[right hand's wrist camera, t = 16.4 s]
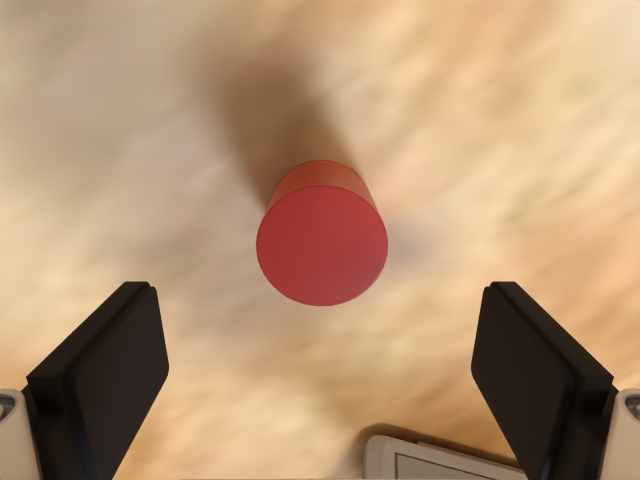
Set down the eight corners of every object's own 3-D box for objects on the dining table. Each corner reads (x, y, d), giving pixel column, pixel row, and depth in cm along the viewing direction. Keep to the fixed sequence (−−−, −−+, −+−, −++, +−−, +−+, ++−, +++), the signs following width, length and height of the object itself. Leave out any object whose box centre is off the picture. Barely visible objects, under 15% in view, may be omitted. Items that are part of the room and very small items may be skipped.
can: (358, 264, 20) (369, 316, 16) (263, 246, 20) (247, 294, 15) (384, 171, 18) (404, 201, 14) (280, 149, 18) (267, 172, 14)
